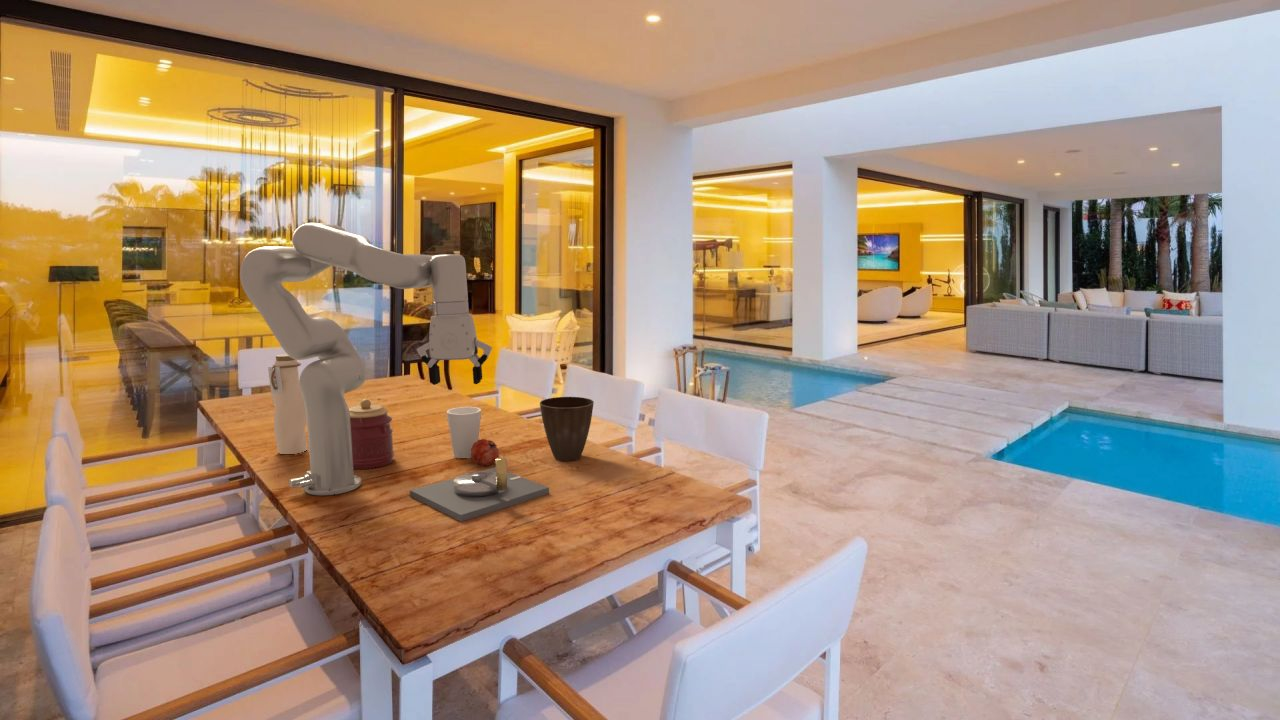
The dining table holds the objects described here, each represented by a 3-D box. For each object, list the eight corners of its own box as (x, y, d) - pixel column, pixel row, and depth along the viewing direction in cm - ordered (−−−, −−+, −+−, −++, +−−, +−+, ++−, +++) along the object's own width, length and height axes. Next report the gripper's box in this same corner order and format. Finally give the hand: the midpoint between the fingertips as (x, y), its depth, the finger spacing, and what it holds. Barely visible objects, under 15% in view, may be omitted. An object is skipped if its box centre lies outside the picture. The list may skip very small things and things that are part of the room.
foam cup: (462, 462, 185) (460, 416, 183) (441, 456, 191) (439, 411, 189) (489, 454, 193) (488, 409, 191) (468, 448, 198) (466, 405, 196)
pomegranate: (467, 474, 182) (484, 458, 176) (460, 449, 185) (476, 433, 179) (491, 471, 187) (508, 456, 181) (483, 447, 190) (500, 431, 184)
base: (462, 522, 144) (461, 514, 144) (410, 496, 159) (409, 489, 159) (550, 493, 161) (550, 487, 161) (495, 472, 177) (495, 466, 176)
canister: (404, 460, 187) (401, 397, 184) (364, 473, 176) (360, 406, 173) (373, 452, 193) (370, 392, 191) (332, 464, 182) (328, 400, 180)
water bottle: (298, 457, 189) (290, 358, 184) (266, 457, 189) (258, 358, 184) (316, 447, 199) (309, 353, 194) (286, 446, 199) (278, 352, 194)
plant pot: (535, 452, 195) (534, 398, 192) (585, 447, 200) (585, 394, 197) (547, 467, 181) (546, 409, 178) (600, 462, 186) (600, 405, 184)
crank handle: (443, 487, 160) (442, 450, 159) (486, 475, 169) (485, 440, 167) (482, 505, 149) (481, 466, 148) (526, 491, 158) (525, 454, 156)
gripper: (407, 311, 151) (413, 387, 153) (483, 309, 149) (488, 386, 152) (421, 308, 158) (426, 381, 160) (493, 307, 157) (498, 379, 159)
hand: (456, 383), depth 156 cm, fingers open, 9 cm apart
